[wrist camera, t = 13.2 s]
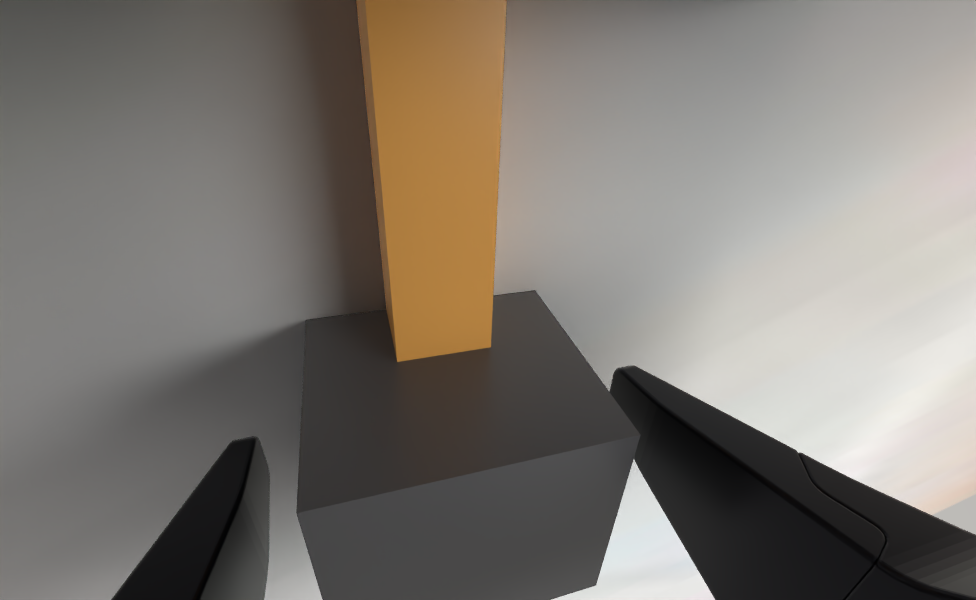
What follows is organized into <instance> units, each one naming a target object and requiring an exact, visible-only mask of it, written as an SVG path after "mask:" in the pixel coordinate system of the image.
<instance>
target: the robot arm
mask: <svg viewBox="0 0 976 600" xmlns="http://www.w3.org/2000/svg"><path fill="white" fill-rule="evenodd" d="M610 394H611V395H612V396H613V398H614V399H615V401H616V402H617V403H618V405H619V406H620V407H621V409H622V410H623V411H624V413H625V414H626V416H627V417H628V418H629V420H630V421H631V422H632V424H633V425H634V427H635V428H636V429H637V431H638V432H639V433H640V439H639V442H638V445H637V449H636V452H635V455H634V460H635V462H636V464H637V466H638V468H639V470H640V471H641V473H642V475H643V477H644V479H645V480H646V482H647V484H648V485H649V487H650V489H651V491H652V492H653V494H654V496H655V497H656V499H657V501H658V502H659V504H660V506H661V508H662V509H663V511H664V513H665V514H666V516H667V518H668V520H669V521H670V523H671V525H672V526H673V528H674V530H675V532H676V533H677V535H678V537H679V538H680V540H681V542H682V543H683V545H684V547H685V549H686V550H687V552H688V554H689V555H690V557H691V559H692V561H693V562H694V564H695V566H696V567H697V569H698V571H699V573H700V574H701V576H702V578H703V579H704V581H705V583H706V584H707V586H708V588H709V590H710V591H711V593H712V595H713V596H714V598H715V600H976V535H975V534H972V533H970V532H968V531H965V530H963V529H960V528H959V527H956V526H954V525H952V524H950V523H947V522H945V521H943V520H940V519H939V518H936V517H934V516H932V515H930V514H928V513H925V512H923V511H921V510H919V509H917V508H914V507H912V506H910V505H908V504H906V503H903V502H901V501H899V500H897V499H895V498H892V497H890V496H888V495H886V494H884V493H881V492H879V491H877V490H875V489H873V488H871V487H869V486H867V485H864V484H862V483H860V482H858V481H856V480H854V479H852V478H850V477H848V476H846V475H844V474H842V473H840V472H838V471H836V470H834V469H832V468H830V467H828V466H826V465H824V464H822V463H820V462H818V461H816V460H814V459H812V458H810V457H808V456H806V455H805V454H803V453H798V452H797V451H796V450H795V449H793V448H791V447H789V446H787V445H785V444H783V443H781V442H780V441H778V440H776V439H774V438H772V437H770V436H768V435H766V434H764V433H762V432H760V431H759V430H757V429H755V428H753V427H751V426H749V425H747V424H745V423H743V422H741V421H739V420H738V419H736V418H734V417H732V416H730V415H728V414H726V413H724V412H722V411H720V410H718V409H716V408H715V407H713V406H711V405H709V404H707V403H705V402H703V401H701V400H699V399H697V398H695V397H694V396H692V395H690V394H688V393H686V392H684V391H682V390H680V389H678V388H676V387H674V386H673V385H671V384H669V383H667V382H665V381H663V380H661V379H659V378H657V377H655V376H653V375H652V374H650V373H648V372H646V371H644V370H642V369H640V368H638V367H636V366H626V367H621V368H617V369H616V370H615V372H614V374H613V379H612V383H611V388H610ZM269 491H270V477H269V468H268V464H267V461H266V458H265V455H264V452H263V449H262V446H261V443H260V440H259V439H258V438H257V437H248V438H243V439H238V440H234V441H232V442H231V443H230V444H229V445H228V446H227V448H226V449H225V450H224V452H223V453H222V454H221V456H220V457H219V458H218V460H217V461H216V462H215V464H214V465H213V466H212V467H211V469H210V470H209V471H208V473H207V474H206V475H205V477H204V478H203V479H202V481H201V482H200V483H199V485H198V486H197V487H196V489H195V490H194V491H193V493H192V494H191V495H190V497H189V498H188V499H187V500H186V502H185V503H184V504H183V506H182V507H181V508H180V510H179V511H178V512H177V514H176V515H175V516H174V518H173V519H172V520H171V522H170V523H169V524H168V526H167V527H166V528H165V530H164V531H163V532H162V534H161V535H160V536H159V537H158V539H157V540H156V541H155V543H154V544H153V545H152V547H151V548H150V549H149V551H148V552H147V553H146V555H145V556H144V557H143V559H142V560H141V561H140V563H139V564H138V565H137V567H136V568H135V569H134V570H133V572H132V573H131V574H130V576H129V577H128V578H127V580H126V581H125V582H124V584H123V585H122V586H121V588H120V589H119V590H118V592H117V593H116V594H115V596H114V597H113V598H112V600H264V596H265V588H266V581H267V572H268V562H269Z"/></svg>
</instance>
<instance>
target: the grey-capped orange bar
mask: <svg viewBox="0 0 976 600" xmlns="http://www.w3.org/2000/svg"><path fill="white" fill-rule="evenodd" d="M356 4H357V14H358V24H359V34H360V45H361V55H362V65H363V75H364V86H365V96H366V106H367V116H368V127H369V137H370V147H371V157H372V167H373V178H374V188H375V198H376V208H377V219H378V229H379V239H380V249H381V260H382V270H383V280H384V290H385V301H386V310H380V311H372V312H365V313H357V314H349V315H341V316H333V317H326V318H318V319H310V320H306V331H305V352H304V372H303V392H302V413H301V433H300V454H299V474H298V494H297V516H298V520H299V523H300V526H301V530H302V533H303V536H304V539H305V543H306V546H307V549H308V553H309V556H310V559H311V563H312V566H313V569H314V572H315V576H316V579H317V582H318V586H319V589H320V592H321V596H322V599H323V600H551V599H554V598H557V597H560V596H564V595H567V594H570V593H573V592H576V591H579V590H583V589H586V588H589V587H592V586H595V585H596V583H597V580H598V576H599V573H600V570H601V566H602V563H603V560H604V556H605V553H606V550H607V546H608V543H609V539H610V536H611V533H612V529H613V526H614V523H615V519H616V516H617V513H618V509H619V506H620V502H621V499H622V496H623V492H624V489H625V486H626V482H627V479H628V476H629V472H630V469H631V465H632V462H633V459H634V455H635V452H636V449H637V445H638V442H639V439H640V433H639V432H638V431H637V429H636V428H635V427H634V425H633V424H632V422H631V421H630V420H629V418H628V417H627V416H626V414H625V413H624V411H623V410H622V409H621V407H620V406H619V405H618V403H617V402H616V401H615V399H614V398H613V396H612V395H611V394H610V392H609V391H608V390H607V388H606V387H605V385H604V384H603V383H602V381H601V380H600V379H599V377H598V376H597V375H596V373H595V372H594V370H593V369H592V368H591V366H590V365H589V364H588V362H587V361H586V359H585V358H584V357H583V355H582V354H581V353H580V351H579V350H578V349H577V347H576V346H575V344H574V343H573V342H572V340H571V339H570V338H569V336H568V335H567V333H566V332H565V331H564V329H563V328H562V327H561V325H560V324H559V322H558V321H557V320H556V318H555V317H554V316H553V314H552V313H551V312H550V310H549V309H548V307H547V306H546V305H545V303H544V302H543V301H542V299H541V298H540V296H539V295H538V294H537V292H536V291H528V292H520V293H513V294H505V295H497V296H493V289H494V268H495V246H496V224H497V203H498V181H499V159H500V138H501V116H502V94H503V73H504V51H505V29H506V8H507V0H356Z"/></svg>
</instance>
